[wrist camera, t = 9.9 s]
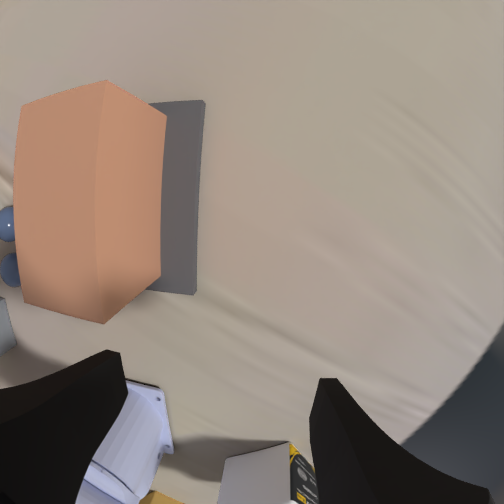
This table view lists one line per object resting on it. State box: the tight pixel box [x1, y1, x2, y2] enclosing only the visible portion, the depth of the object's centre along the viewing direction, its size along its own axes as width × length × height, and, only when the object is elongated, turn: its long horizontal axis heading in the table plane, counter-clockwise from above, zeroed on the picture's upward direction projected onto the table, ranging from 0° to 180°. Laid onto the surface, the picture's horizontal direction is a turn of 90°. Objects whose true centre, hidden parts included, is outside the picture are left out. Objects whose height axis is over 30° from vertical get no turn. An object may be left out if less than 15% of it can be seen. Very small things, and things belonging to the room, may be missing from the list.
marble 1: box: [0, 206, 15, 242], centre depth 17 cm, size 3×3×3 cm
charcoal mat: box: [146, 100, 205, 295], centre depth 17 cm, size 12×10×1 cm
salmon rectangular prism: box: [13, 80, 167, 324], centre depth 13 cm, size 10×6×7 cm, turn 176°
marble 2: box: [0, 253, 21, 287], centre depth 18 cm, size 3×3×3 cm
